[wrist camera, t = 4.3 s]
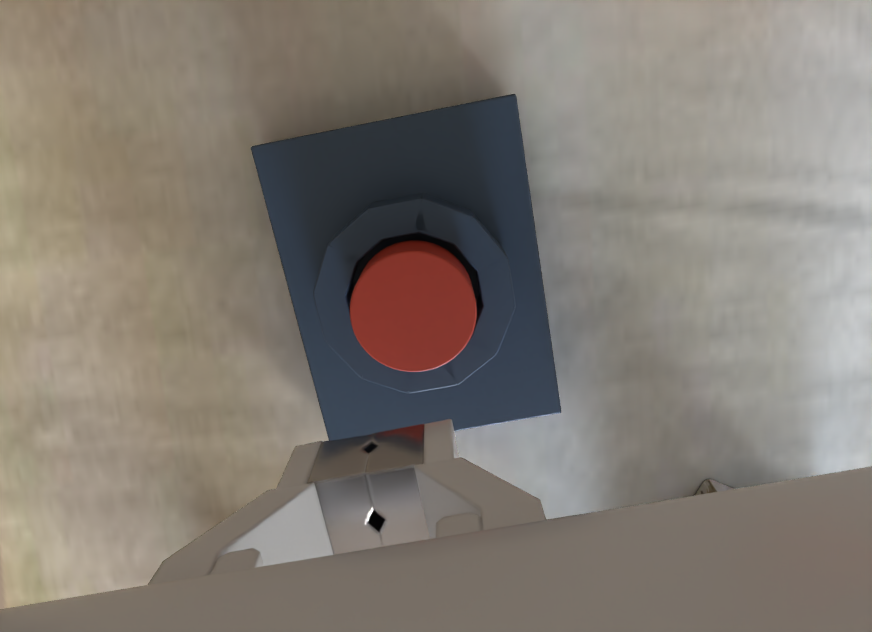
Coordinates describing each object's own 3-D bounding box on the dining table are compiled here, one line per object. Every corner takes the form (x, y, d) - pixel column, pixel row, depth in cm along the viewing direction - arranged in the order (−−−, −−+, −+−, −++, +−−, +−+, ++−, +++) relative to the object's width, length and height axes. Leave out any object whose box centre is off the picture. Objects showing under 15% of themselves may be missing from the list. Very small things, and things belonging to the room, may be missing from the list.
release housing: (265, 144, 25) (234, 148, 21) (509, 96, 25) (522, 90, 21) (339, 429, 29) (324, 475, 25) (552, 392, 28) (570, 433, 24)
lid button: (344, 251, 23) (336, 263, 21) (462, 229, 23) (465, 239, 21) (370, 361, 24) (364, 382, 22) (482, 341, 24) (486, 361, 22)
